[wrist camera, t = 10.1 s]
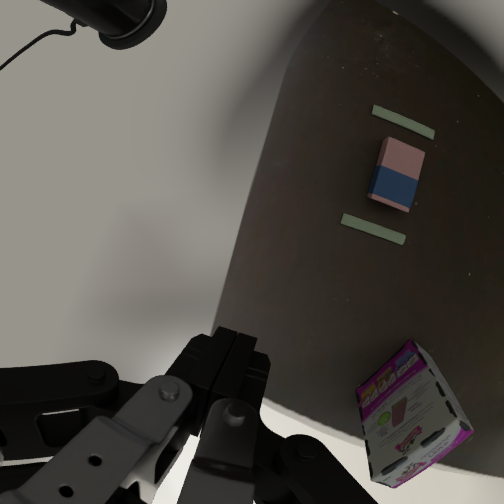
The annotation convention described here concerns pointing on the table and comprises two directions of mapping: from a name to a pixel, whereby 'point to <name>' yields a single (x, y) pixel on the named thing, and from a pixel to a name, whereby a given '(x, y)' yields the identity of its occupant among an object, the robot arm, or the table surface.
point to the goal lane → (373, 227)
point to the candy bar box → (408, 417)
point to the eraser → (396, 174)
